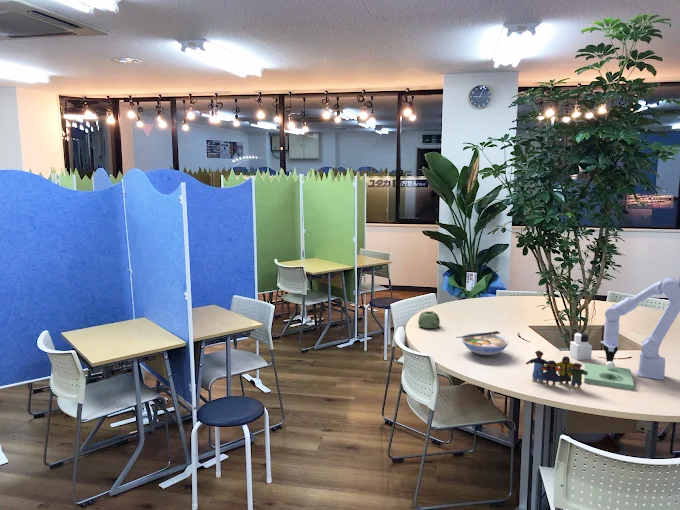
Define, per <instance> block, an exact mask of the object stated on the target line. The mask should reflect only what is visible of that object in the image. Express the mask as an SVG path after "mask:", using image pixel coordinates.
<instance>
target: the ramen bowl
mask: <svg viewBox="0 0 680 510" xmlns="http://www.w3.org/2000/svg"><path fill="white" fill-rule="evenodd" d="M500 334H501V332H500V331H497V330H495V331H488V332H471V333H467V334H466V333H465V334H464V335H462V336H456V338H457V339H458V338H459V339H460V338H461V340H462V343H463V345H464V346H465V347H466V349H468V350H469V351H471V352H472V353H475V354H477V355H479V354H480V355H479V356H482V355H490V356H492V355H498V354H499V353H501V352H502V351H504V350H505V349H506V348H507V347H508V345H509V339H507V338H506V337H504V336H501V335H500Z"/></svg>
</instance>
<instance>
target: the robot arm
mask: <svg viewBox="0 0 680 510" xmlns="http://www.w3.org/2000/svg"><path fill="white" fill-rule="evenodd" d="M663 294H664V295H665V296H666V297H667V299H668V301H669V303H668V305H667V307H666V309H665V310H664V312H663V314H661V317H660V318H659V320H658V321H657V324H655V327H654V329H653V331H652V332H651V333H650V335H649V336H648V337H647V338H645V339H644V340H643V341H642V344H641V349H640V351H641V352H640V353H639V361H638V362H639V365H638V369H636V372H637V376H638V377H641V378H647V379H655V380H660V381H661V380H662V381H663V380H665V373H666V369H665V368H666V359H665V358H666V357H663V356H660V354H659V351H660V350H659V349H660V346H661V344H662V341H663V340H664V338H665V336H666V334H667V333H668V331H669V330H670V328H671V326H672V325H673V323H674V322H675V319H676V318H677V317H678V315H679V314H680V281H678V279H676V278H675V277H672V276H669V277H665V278H663V280H658V281H657V282H655V283H653V284H651V285H650V286H648V287H647V288H645V289H644V290H642V291H640V292H639V293H638V294H635V296H633V297H629V296H627V297H622V298H621V300H620V301H618V302H616V303H613V304H612V305H611V306H609V307H608V308H607V309H606V311H605V313H604V316H605V323H604V334H603V340H600V344H602V345H603V350H604V352H605V359H606V363H607V362H608V361H612V362H613V363H614V358H615V355H616V353H617V352H618V347H619V337H620V336H619V335H620V318H621V317H623V316H625V315H627V314H628V313H630V312H632V311H633V310H635V309H637V307H638V304H640V303H641V302H644V301H645V300H647V299H648V298H650V297H652V296H654V295H656V296H657V295H660V296H662V295H663Z"/></svg>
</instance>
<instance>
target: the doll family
mask: <svg viewBox="0 0 680 510" xmlns="http://www.w3.org/2000/svg"><path fill="white" fill-rule="evenodd" d="M534 353H535V355H536V357H535V358H531V359H530V360H528V361H527V362H525V364H526V365H529V364H534V366H533V371H532V380H531V381H532V382H534V383H535V382H536V383H537V382H538V383H540V384H544V387H547V388H548V387H550V384H549V383H550V382H552V383H551V387H552V388H554V389H555V388H556V389H557V385H556V383H558V384H559V385H560V386H566V387H569V389H570V390H571V391H574V390H577V391H581V390H582V388H581V386H582V385H583V381H582V380H583V378H582V377H583V376H584V375H587V374H588V372H586V371H585V369H582V366H583V365H582V363H578V362H575V363H573V362H570V361H571V359H570V357H569V356H566V355H565V356H563V357H562V358H561V359H562V360H561V361H559V362H556V361H555V360H548V361H547V360H546V359H543V358H542V357H543V355H544V352H543V351H541V350H537V351H535V352H534ZM557 372H558V373H557ZM544 382H545V383H544ZM569 382H570V383H569Z"/></svg>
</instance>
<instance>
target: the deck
mask: <svg viewBox="0 0 680 510" xmlns="http://www.w3.org/2000/svg"><path fill="white" fill-rule="evenodd" d="M584 370H585V371H586V372H588V374H587V375H584V374H583V378H584V382H583V383H584V384H592V385H597V386H602V387H603V386H605V387H609V388H610V387H611V388H618V389H624V390H630V391H634V387H635V384H634V379H633V375H632V371H631V369H630V368H624V367H617V366H615V367H614V369H608V368H607V367H606V364H605V365H603V364H596V363H589V362H584Z"/></svg>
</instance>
